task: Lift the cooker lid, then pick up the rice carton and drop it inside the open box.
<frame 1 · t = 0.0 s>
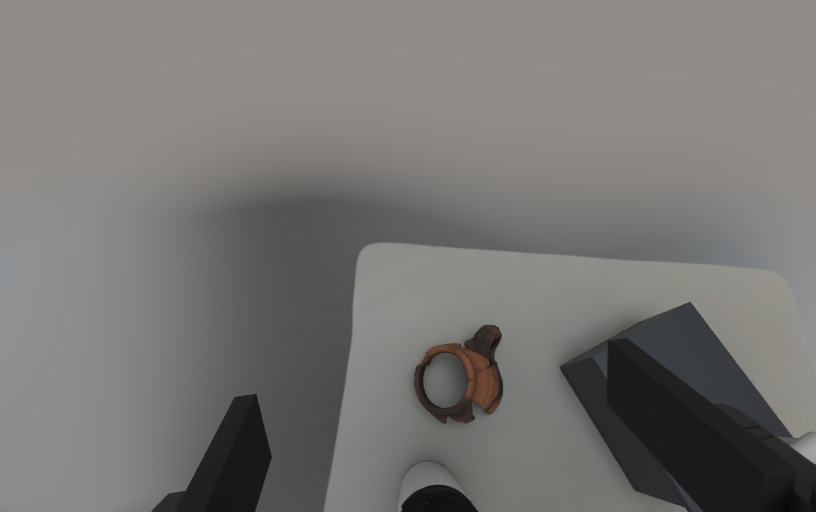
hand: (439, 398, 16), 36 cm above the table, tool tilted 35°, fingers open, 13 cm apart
open box: (638, 400, 50), on the table
cooker lid: (714, 400, 38), point 13 cm above the table, hinge at 0.0°
travel mug: (427, 490, 47), on the table
pottery mug: (463, 375, 51), on the table
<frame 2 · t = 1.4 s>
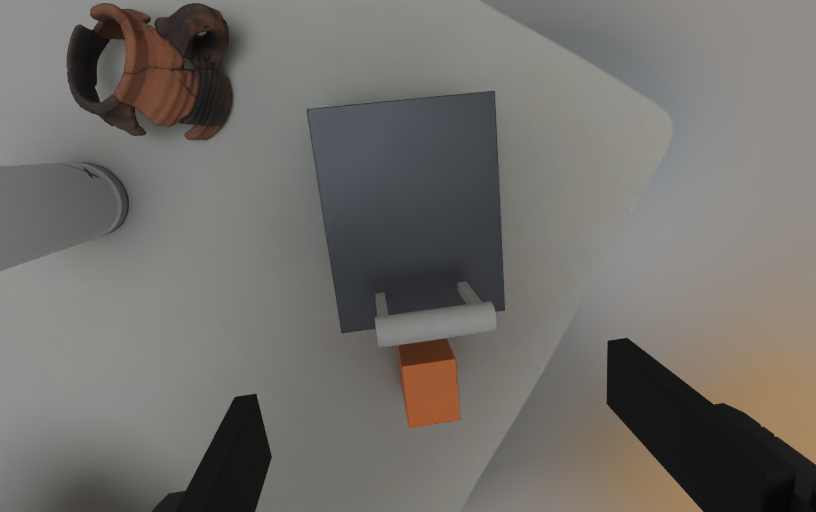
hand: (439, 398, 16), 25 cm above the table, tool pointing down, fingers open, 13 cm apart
rice carton: (420, 355, 43), on the table
cooker lid: (419, 226, 27), point 13 cm above the table, hinge at 0.0°
travel mug: (90, 197, 36), on the table
pottery mug: (181, 76, 35), on the table
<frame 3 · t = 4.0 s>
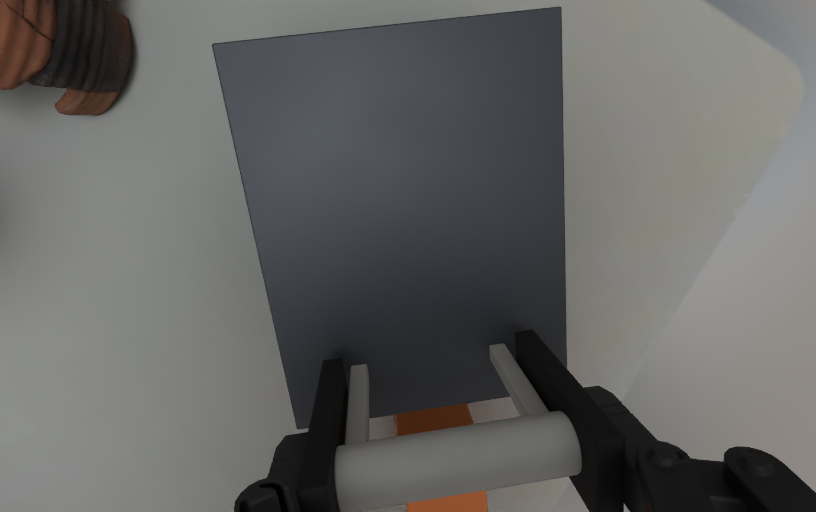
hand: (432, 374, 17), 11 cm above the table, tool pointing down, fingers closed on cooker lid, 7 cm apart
rice carton: (429, 419, 31), on the table
cooker lid: (424, 261, 14), point 13 cm above the table, hinge at 0.0°, touching gripper
pottery mug: (53, 16, 22), on the table
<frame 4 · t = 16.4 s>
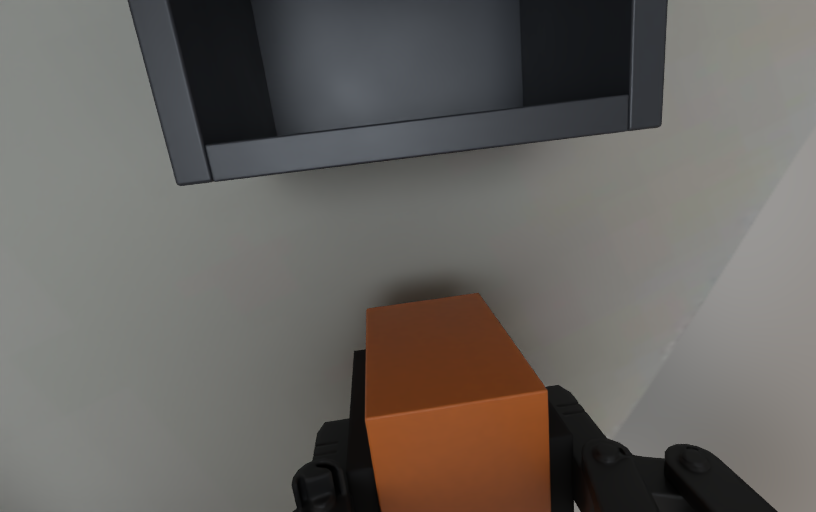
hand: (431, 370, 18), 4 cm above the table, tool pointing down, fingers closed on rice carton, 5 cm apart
rice carton: (430, 365, 18), point 4 cm above the table, touching gripper
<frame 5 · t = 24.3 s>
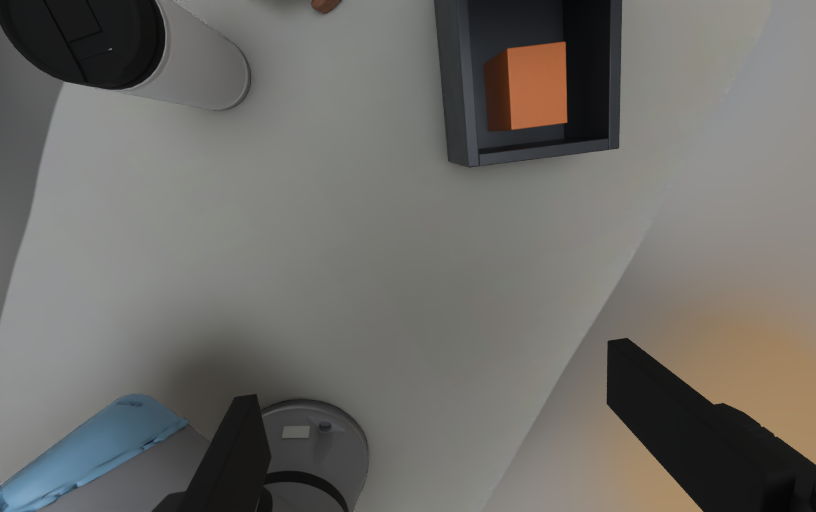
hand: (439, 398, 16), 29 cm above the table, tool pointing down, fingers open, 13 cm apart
open box: (505, 74, 40), on the table
rice carton: (509, 95, 40), point 1 cm above the table, touching open box
travel mug: (215, 72, 38), on the table
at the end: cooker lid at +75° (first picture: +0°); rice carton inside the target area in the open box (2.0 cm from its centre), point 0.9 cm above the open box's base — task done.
